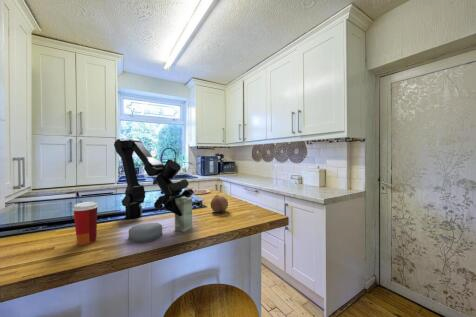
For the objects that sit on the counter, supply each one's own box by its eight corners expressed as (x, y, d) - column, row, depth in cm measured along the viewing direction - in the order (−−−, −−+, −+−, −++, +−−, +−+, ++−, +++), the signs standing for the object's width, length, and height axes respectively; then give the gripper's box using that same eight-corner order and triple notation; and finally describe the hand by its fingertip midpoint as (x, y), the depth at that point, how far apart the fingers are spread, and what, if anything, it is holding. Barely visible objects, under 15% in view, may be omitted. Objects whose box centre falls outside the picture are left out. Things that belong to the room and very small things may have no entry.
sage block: (175, 229, 88) (174, 199, 87) (183, 225, 92) (183, 196, 92) (184, 232, 85) (183, 200, 85) (192, 227, 90) (192, 198, 89)
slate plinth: (124, 243, 75) (123, 235, 75) (134, 230, 87) (134, 223, 87) (159, 241, 77) (158, 233, 77) (164, 228, 89) (164, 221, 89)
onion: (213, 216, 114) (208, 198, 117) (230, 210, 116) (224, 193, 118) (213, 215, 105) (207, 196, 108) (230, 209, 107) (224, 190, 109)
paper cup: (95, 235, 82) (94, 200, 81) (102, 241, 77) (101, 203, 76) (70, 242, 76) (69, 204, 75) (76, 249, 71) (74, 208, 70)
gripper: (158, 176, 81) (180, 208, 77) (190, 171, 98) (210, 197, 93) (145, 194, 85) (165, 225, 81) (178, 186, 102) (196, 212, 97)
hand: (186, 214), depth 88 cm, fingers closed on sage block, 5 cm apart
